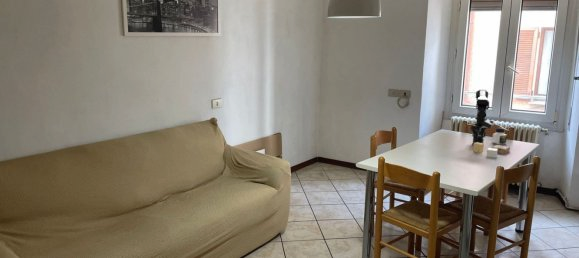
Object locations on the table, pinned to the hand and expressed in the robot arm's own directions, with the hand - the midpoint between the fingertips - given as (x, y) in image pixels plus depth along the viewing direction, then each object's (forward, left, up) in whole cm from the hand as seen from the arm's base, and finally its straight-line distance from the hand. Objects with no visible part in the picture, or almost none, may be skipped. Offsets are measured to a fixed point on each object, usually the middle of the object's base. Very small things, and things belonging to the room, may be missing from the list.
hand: (479, 138), depth 324 cm
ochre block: (0, 0, -10) cm, 10 cm away
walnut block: (+12, +10, -10) cm, 18 cm away
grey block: (+12, -6, -10) cm, 17 cm away
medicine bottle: (+1, +37, -10) cm, 38 cm away
